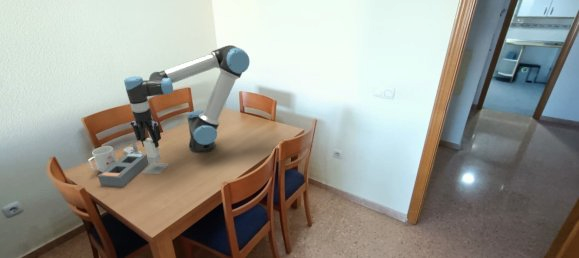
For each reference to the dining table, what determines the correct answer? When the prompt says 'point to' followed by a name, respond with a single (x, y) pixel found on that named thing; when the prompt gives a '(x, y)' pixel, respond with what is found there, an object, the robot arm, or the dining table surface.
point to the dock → (123, 170)
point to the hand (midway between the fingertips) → (152, 152)
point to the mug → (103, 158)
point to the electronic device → (132, 149)
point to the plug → (151, 151)
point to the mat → (154, 168)
